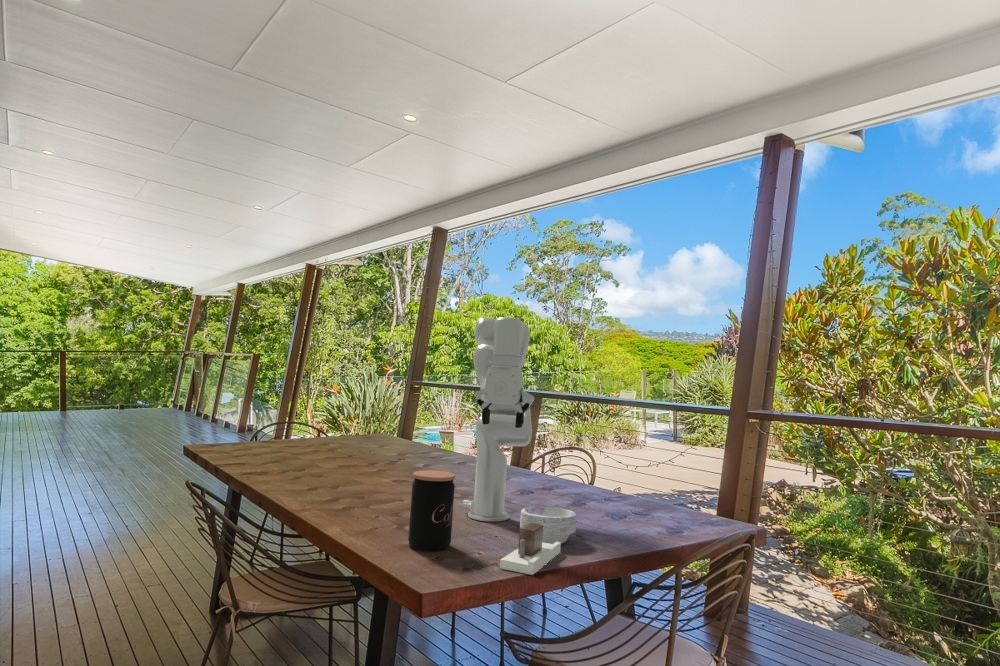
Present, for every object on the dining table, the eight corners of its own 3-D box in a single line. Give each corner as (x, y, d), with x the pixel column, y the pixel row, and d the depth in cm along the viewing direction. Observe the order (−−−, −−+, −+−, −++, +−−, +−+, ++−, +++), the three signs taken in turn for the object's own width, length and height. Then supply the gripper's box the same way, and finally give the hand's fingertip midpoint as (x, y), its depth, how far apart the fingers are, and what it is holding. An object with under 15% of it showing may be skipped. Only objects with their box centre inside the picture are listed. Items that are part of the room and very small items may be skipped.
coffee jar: (432, 555, 149) (438, 479, 150) (398, 546, 154) (404, 472, 155) (458, 546, 158) (463, 474, 159) (425, 537, 163) (430, 468, 164)
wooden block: (517, 553, 147) (519, 528, 148) (527, 547, 154) (529, 522, 154) (532, 556, 146) (534, 530, 146) (542, 549, 152) (543, 524, 152)
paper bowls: (533, 530, 179) (534, 502, 179) (583, 539, 172) (584, 510, 172) (509, 541, 166) (511, 511, 166) (562, 552, 158) (564, 520, 159)
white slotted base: (499, 568, 142) (501, 541, 142) (530, 548, 160) (532, 524, 160) (532, 575, 138) (534, 547, 139) (560, 553, 157) (561, 529, 157)
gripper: (471, 360, 169) (467, 423, 168) (530, 363, 162) (526, 429, 161) (483, 361, 176) (479, 422, 175) (540, 364, 169) (536, 428, 168)
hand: (502, 425), depth 168 cm, fingers open, 9 cm apart
